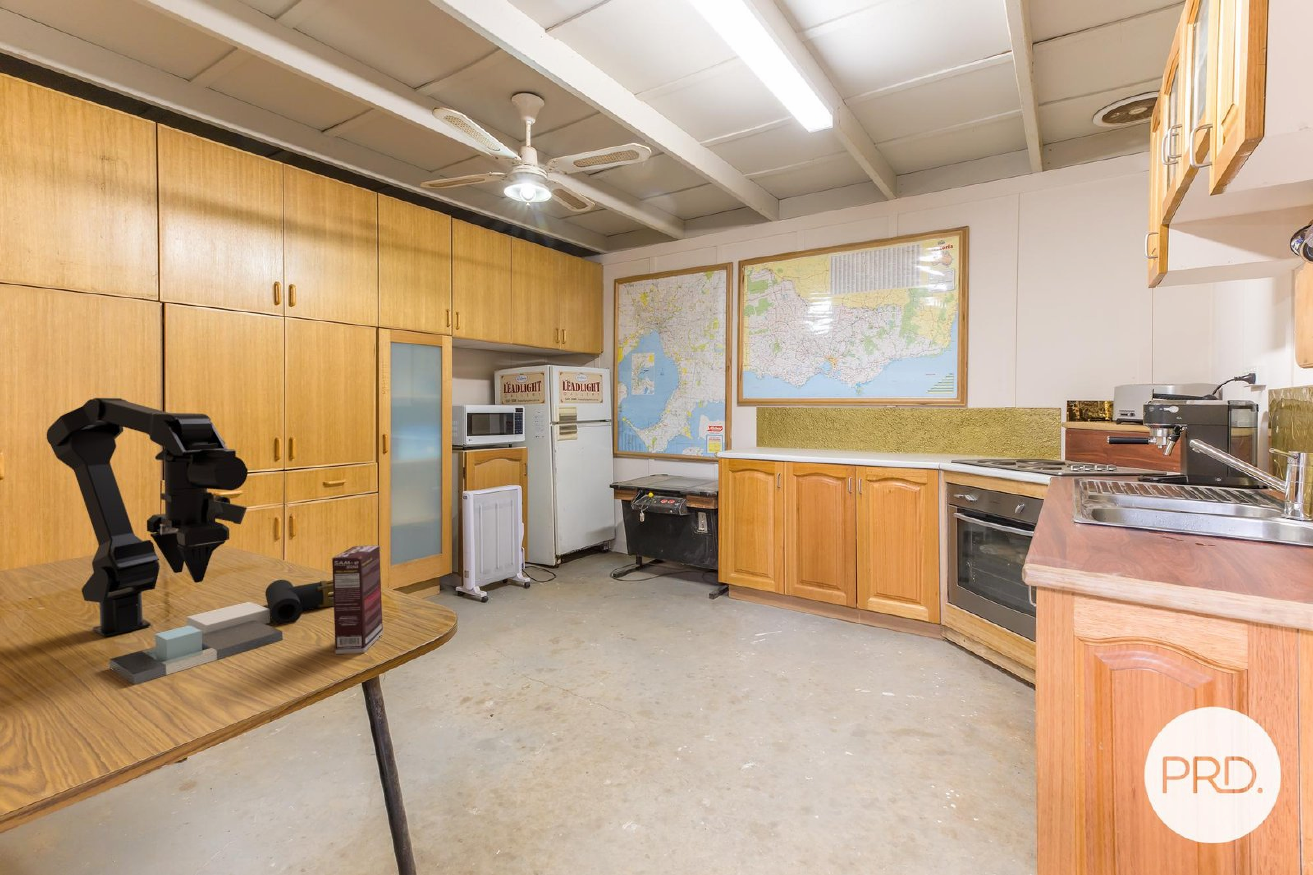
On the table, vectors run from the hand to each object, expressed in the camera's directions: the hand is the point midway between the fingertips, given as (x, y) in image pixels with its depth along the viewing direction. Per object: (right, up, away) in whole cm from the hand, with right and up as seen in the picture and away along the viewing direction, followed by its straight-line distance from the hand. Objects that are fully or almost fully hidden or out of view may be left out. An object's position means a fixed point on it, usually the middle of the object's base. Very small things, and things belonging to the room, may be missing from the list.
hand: (188, 577), depth 103 cm
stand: (+3, -10, +6) cm, 12 cm away
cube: (+5, -11, -9) cm, 15 cm away
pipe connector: (+11, -11, +16) cm, 22 cm away
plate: (+7, -11, -6) cm, 14 cm away
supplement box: (+31, -11, -2) cm, 33 cm away
